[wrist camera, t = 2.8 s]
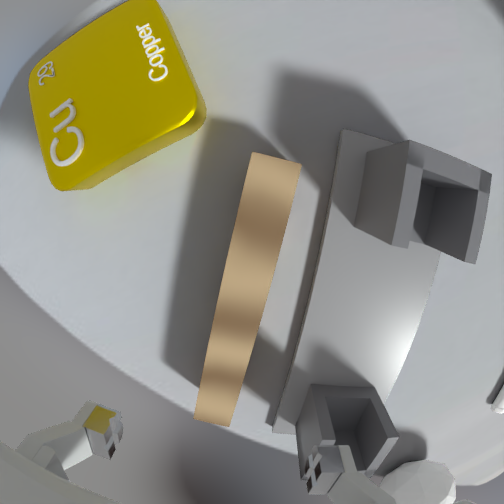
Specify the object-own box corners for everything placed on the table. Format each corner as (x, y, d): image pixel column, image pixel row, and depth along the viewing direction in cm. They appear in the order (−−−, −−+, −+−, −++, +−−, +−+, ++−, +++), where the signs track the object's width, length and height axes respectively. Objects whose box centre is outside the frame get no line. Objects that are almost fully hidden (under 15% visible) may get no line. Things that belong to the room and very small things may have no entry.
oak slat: (254, 158, 25) (252, 151, 20) (294, 168, 25) (301, 164, 20) (201, 388, 30) (193, 418, 25) (233, 395, 30) (229, 426, 25)
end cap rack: (340, 130, 23) (378, 105, 15) (451, 166, 23) (511, 164, 15) (272, 426, 30) (273, 486, 22) (365, 430, 30) (383, 482, 22)
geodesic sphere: (441, 501, 29) (471, 528, 17) (370, 529, 30) (383, 566, 18) (434, 439, 35) (469, 455, 23) (359, 468, 36) (373, 498, 24)
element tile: (214, 125, 24) (204, 112, 19) (79, 196, 26) (51, 200, 21) (163, 8, 21) (149, -16, 17) (47, 81, 23) (22, 71, 18)
